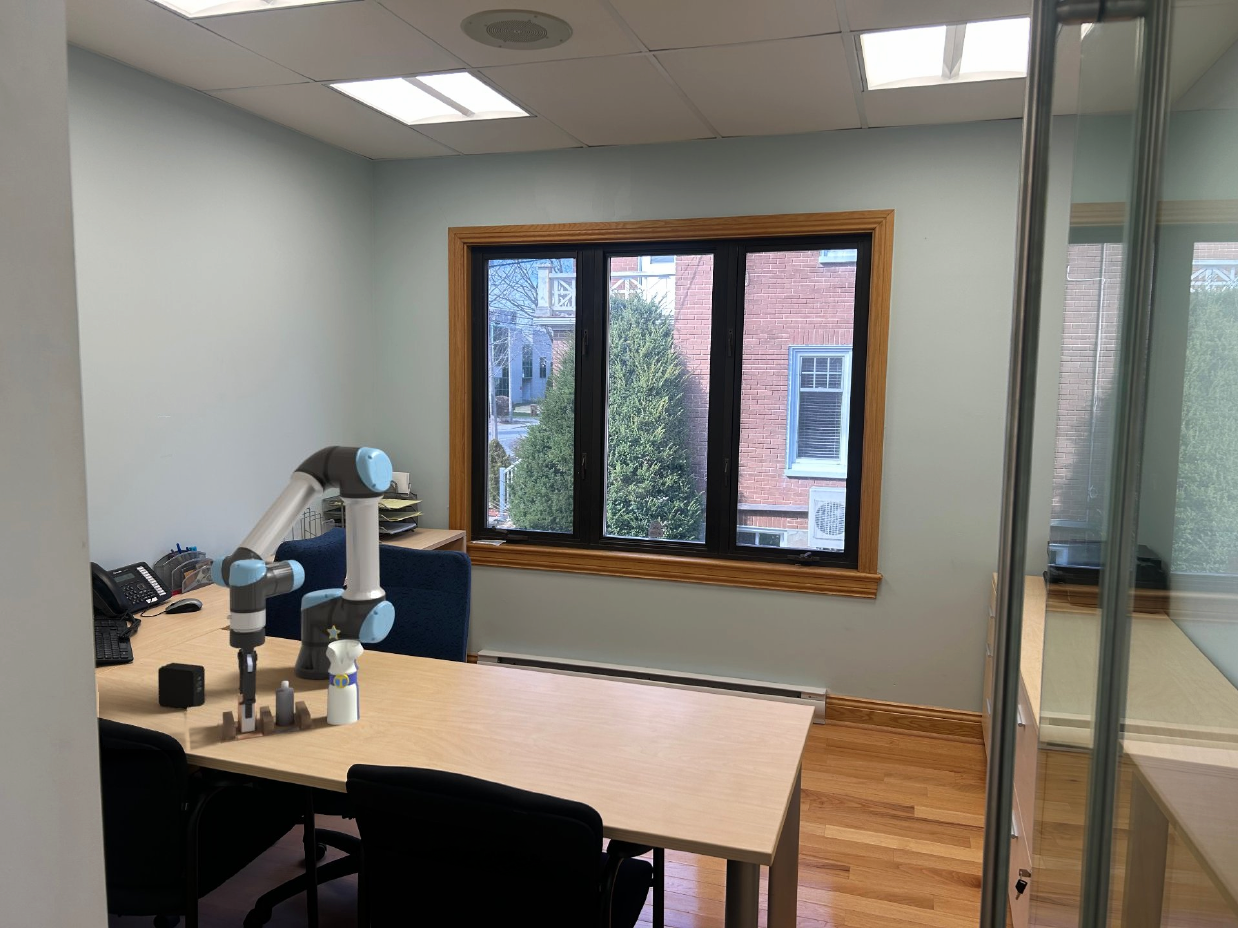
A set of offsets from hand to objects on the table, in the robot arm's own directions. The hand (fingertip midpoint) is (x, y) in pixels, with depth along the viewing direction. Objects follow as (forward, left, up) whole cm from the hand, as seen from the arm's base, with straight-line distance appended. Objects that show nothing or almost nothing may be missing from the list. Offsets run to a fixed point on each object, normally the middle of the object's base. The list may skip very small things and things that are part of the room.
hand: (247, 727), depth 192 cm
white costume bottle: (-21, +3, -2) cm, 21 cm away
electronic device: (+13, -25, -2) cm, 28 cm away
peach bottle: (0, 0, 0) cm, 1 cm away
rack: (-4, 0, -1) cm, 4 cm away
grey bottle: (-8, 0, 0) cm, 8 cm away
